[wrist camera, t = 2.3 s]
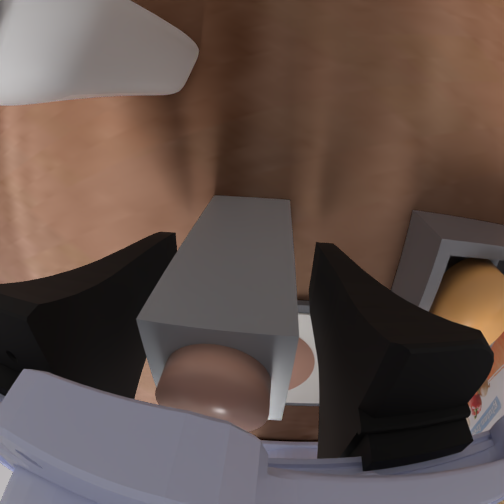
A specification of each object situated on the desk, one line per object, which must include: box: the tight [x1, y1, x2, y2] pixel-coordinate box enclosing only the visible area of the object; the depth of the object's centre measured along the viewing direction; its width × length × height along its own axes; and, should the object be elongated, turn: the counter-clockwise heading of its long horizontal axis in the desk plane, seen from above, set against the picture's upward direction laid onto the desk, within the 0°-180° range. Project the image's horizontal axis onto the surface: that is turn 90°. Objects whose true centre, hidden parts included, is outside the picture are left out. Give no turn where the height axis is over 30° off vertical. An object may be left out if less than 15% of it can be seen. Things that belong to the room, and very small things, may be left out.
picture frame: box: [285, 300, 319, 406], centre depth 17 cm, size 9×11×1 cm
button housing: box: [391, 210, 504, 347], centre depth 12 cm, size 6×6×3 cm
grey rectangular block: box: [136, 195, 299, 432], centre depth 9 cm, size 3×3×9 cm
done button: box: [429, 257, 504, 345], centre depth 11 cm, size 4×4×2 cm
